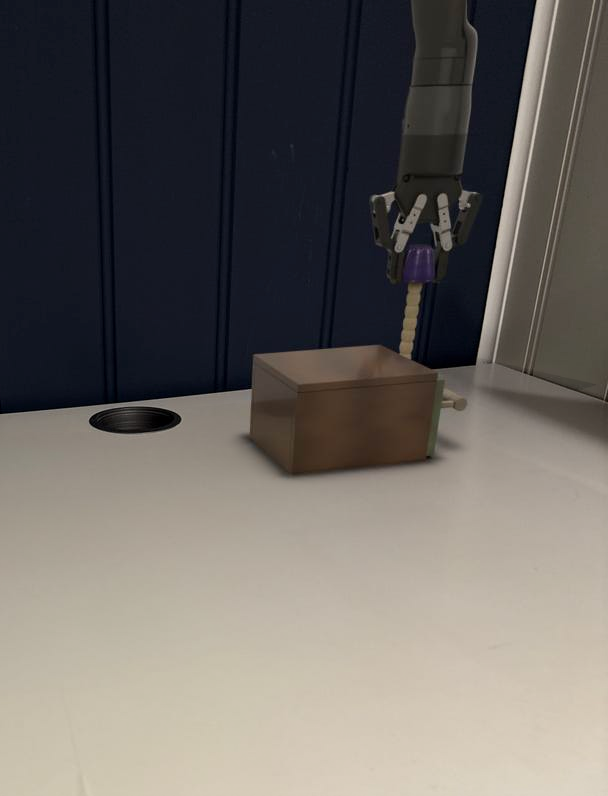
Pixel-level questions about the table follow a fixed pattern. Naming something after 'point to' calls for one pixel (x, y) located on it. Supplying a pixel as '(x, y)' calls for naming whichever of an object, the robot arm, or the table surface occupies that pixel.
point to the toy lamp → (414, 289)
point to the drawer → (442, 400)
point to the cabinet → (341, 408)
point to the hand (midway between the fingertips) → (415, 281)
